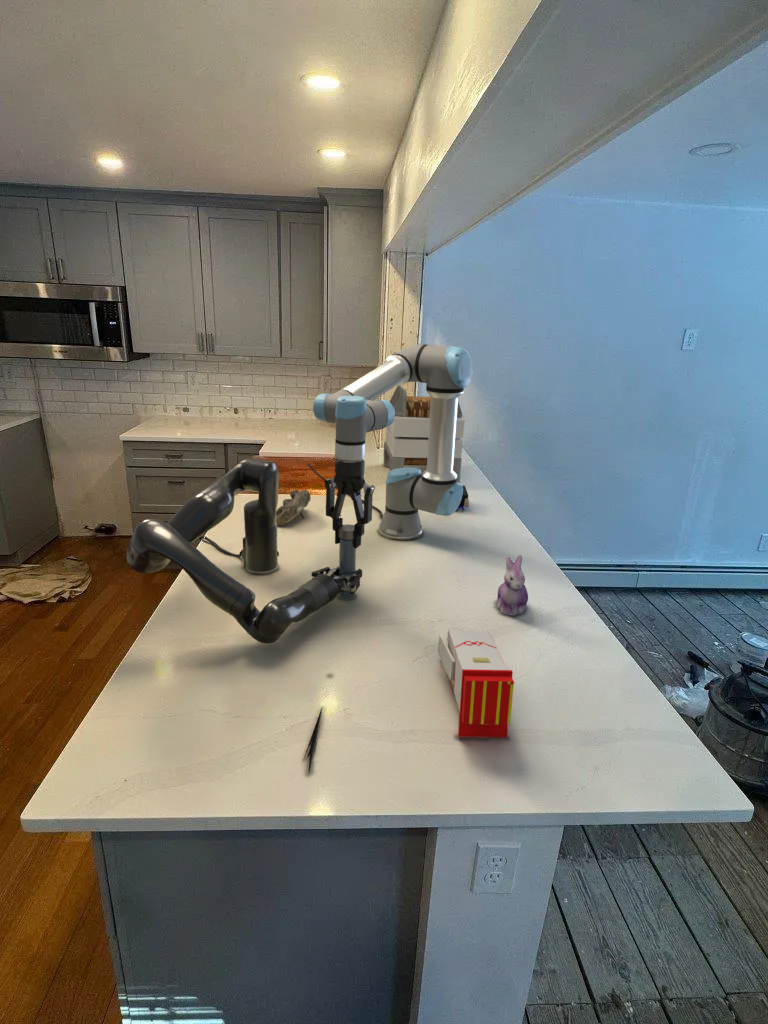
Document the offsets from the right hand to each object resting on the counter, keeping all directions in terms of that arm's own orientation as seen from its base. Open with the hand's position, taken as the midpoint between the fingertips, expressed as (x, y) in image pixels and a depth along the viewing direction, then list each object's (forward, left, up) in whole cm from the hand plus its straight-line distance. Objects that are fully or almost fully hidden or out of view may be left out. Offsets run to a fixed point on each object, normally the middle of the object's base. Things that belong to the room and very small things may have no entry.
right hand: (347, 544), depth 150 cm
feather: (+36, -34, -15) cm, 52 cm away
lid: (0, 0, +4) cm, 4 cm away
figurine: (+32, +32, -15) cm, 47 cm away
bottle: (0, 0, -15) cm, 15 cm away
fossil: (-60, +21, -15) cm, 65 cm away
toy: (+49, -5, -15) cm, 51 cm away
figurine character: (-33, +82, -15) cm, 90 cm away
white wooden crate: (-78, +103, -15) cm, 130 cm away
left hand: (-1, +3, -9) cm, 9 cm away
